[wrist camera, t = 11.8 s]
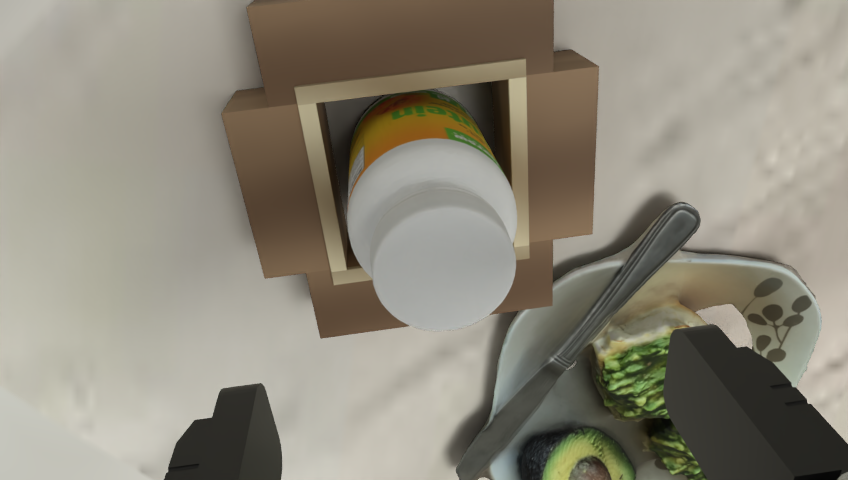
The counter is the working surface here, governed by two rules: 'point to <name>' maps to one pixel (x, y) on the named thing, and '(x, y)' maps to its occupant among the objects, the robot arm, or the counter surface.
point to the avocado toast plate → (627, 358)
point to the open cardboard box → (395, 73)
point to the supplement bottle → (430, 211)
